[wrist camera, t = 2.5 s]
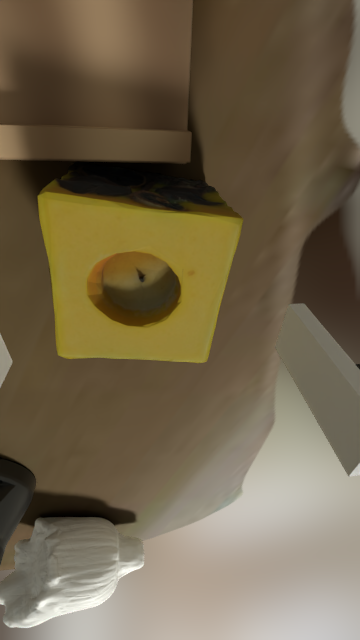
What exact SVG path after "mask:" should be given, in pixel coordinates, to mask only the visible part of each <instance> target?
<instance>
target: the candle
mask: <svg viewBox="0 0 360 640" xmlns="http://www.w3.org/2000/svg"><path fill="white" fill-rule="evenodd" d="M38 207H39V218H40V224H41V229H42V234H43V239H44V243H45V247H46V251H47V255H48V259H49V272H50V278H51V287H52V297H53V305H54V313H55V334H56V347H57V353H58V355H59V356H62V357H65V358H67V359H74V358H98V357H102V358H112V359H145V360H161V361H176V362H195V363H202V362H206V361H207V359H208V355H209V352H210V347H211V342H212V338H213V334H214V330H215V326H216V321H217V316H218V313H219V309H220V305H221V301H222V297H223V293H224V289H225V286H226V282H227V278H228V275H229V271H230V267H231V264H232V260H233V256H234V253H235V250H236V247H237V244H238V241H239V237H240V232H241V228H242V223H243V218H242V217H241V216H240V215H239V214H238V213H236V212H234V211H233V209H232V208H231V207H229V206H227V203H226V202H225V201H224V200H223V199H222V198H221V197H220V196H219V193H218V192H217V191H216V189H215V188H214V187H211V186H208V184H207V183H205V182H204V181H201V180H198V181H194V180H187V179H185V178H174V177H169V176H163V175H161V174H160V173H149V172H139V171H133V170H130V169H127V168H120V167H117V166H116V167H105V166H102V165H98V164H91V163H88V162H86V161H77V162H75V163H74V164H73V165H72V166H70V167H69V169H68V172H67V174H66V175H64V176H62V177H61V180H60V179H58V178H56V179H55V180H53V181H52V182H51V183H49V184H48V185H47V186H46V187H45V188H43V189H42V191H41V192H40V194H39V195H38Z"/></svg>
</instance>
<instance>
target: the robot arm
mask: <svg viewBox="0 0 360 640" xmlns="http://www.w3.org/2000/svg"><path fill="white" fill-rule="evenodd" d="M275 348H276V350H277V352H278V354H279V355H280V357H281V359H282V361H283V362H284V364H285V366H286V368H287V369H288V371H289V373H290V375H291V376H292V378H293V380H294V382H295V383H296V385H297V387H298V389H299V390H300V392H301V394H302V395H303V397H304V399H305V401H306V403H307V404H308V406H309V408H310V410H311V411H312V413H313V415H314V417H315V418H316V420H317V422H318V424H319V425H320V427H321V429H322V431H323V432H324V434H325V436H326V438H327V439H328V441H329V443H330V445H331V446H332V448H333V450H334V452H335V453H336V455H337V457H338V459H339V460H340V462H341V464H342V466H343V467H344V469H345V471H346V472H347V474H348V476H356V475H360V364H354V363H353V361H352V360H351V359H350V358H349V356H348V355H347V354H346V353H345V352H344V350H342V348H341V347H340V346H339V345H338V343H337V342H336V341H335V340H334V339H333V338H332V336H331V335H330V334H329V333H328V332H327V330H326V329H325V328H324V327H323V326H322V324H321V323H320V322H319V321H318V320H317V319H316V317H315V316H314V315H313V314H312V313H311V311H310V310H309V309H308V308H307V307H306V305H305V304H289V305H288V308H287V312H286V315H285V318H284V321H283V324H282V327H281V330H280V333H279V336H278V340H277V343H276V346H275ZM11 364H12V359H11V357H10V355H9V352H8V350H7V348H6V346H5V343H4V341H3V339H2V336H1V334H0V387H1V385H2V383H3V381H4V379H5V377H6V375H7V373H8V371H9V368H10V366H11ZM35 486H36V480H35V477H34V476H33V474H32V473H31V472H30V471H29V470H27V469H26V468H24V467H22V466H21V465H18V464H16V463H13V462H11V461H7V460H3V459H0V564H1V561H2V557H3V554H4V551H5V547H6V545H7V543H8V541H9V539H10V538H11V536H12V534H13V532H14V531H15V529H16V527H17V525H18V524H19V522H20V520H21V519H22V517H23V515H24V513H25V512H26V510H27V508H28V506H29V505H30V503H31V501H32V498H33V494H34V490H35Z"/></svg>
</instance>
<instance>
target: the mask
mask: <svg viewBox="0 0 360 640" xmlns="http://www.w3.org/2000/svg"><path fill="white" fill-rule="evenodd" d="M143 548H144V546H143V542H142V540H141V539H139V538H135V537H128V536H124V535H122V534H120V533H119V532H118V531H117V529H116V527H115V526H114V524H112V523H111V522H110V521H108V520H106V519H104V518H99V517H47V518H42V517H40V518H38V519H37V520H36V521H35V527H34V529H33V532H32V536H31V538H29V539H24V540H20V541H19V542H18V543H17V544H15V551H16V554H15V555H14V560H15V562H16V564H15V571H14V572H12V573H11V574H10V575H9V576H7V577H6V578H5V579H4V580H3V581H1V582H0V604H2V605H4V606H5V614H4V617H3V622H4V623H5V624H6V625H8V626H9V627H20V628H30V627H33V626H35V625H38V624H40V623H43V622H45V621H47V620H49V619H51V618H53V617H56V616H60V615H64V614H67V613H71V612H75V611H79V610H84V609H87V608H92V607H95V606H98V605H100V604H102V603H103V602H104V601H106V599H108V598H109V597H110V596H111V595H112V594H113V592H114V590H115V588H116V586H117V583H118V580H119V578H121V577H122V576H124V575H126V574H128V573H129V572H131V571H134V570H136V569H139V568H141V567H142V566H143V565H144V549H143Z"/></svg>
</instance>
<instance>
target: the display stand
mask: <svg viewBox="0 0 360 640" xmlns="http://www.w3.org/2000/svg"><path fill="white" fill-rule="evenodd" d="M192 13H193V0H0V159H4V160H46V161H88V162H130V163H172V164H186V162H190V157H191V138H192V132H190V131H187V125H188V102H189V80H190V57H191V35H192Z"/></svg>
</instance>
